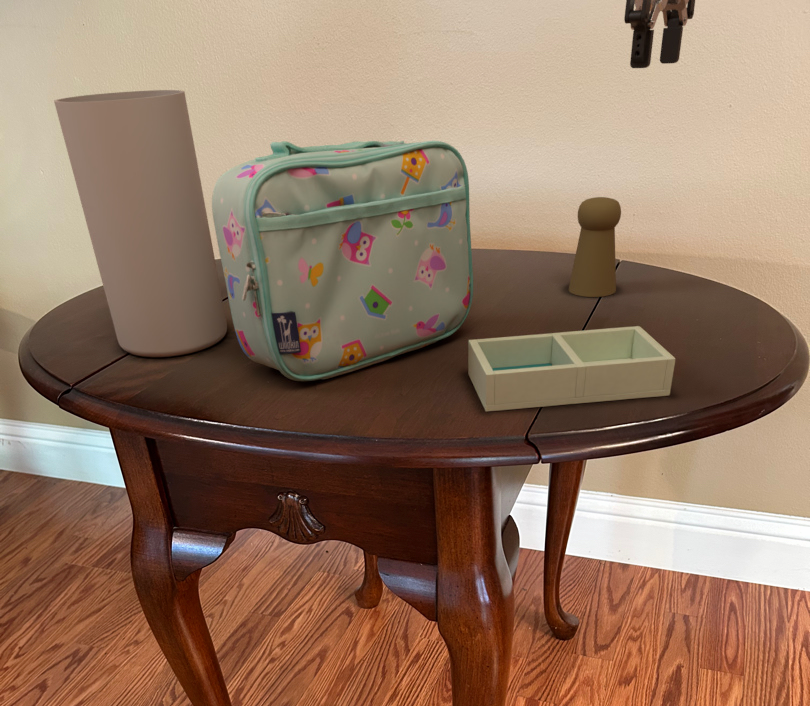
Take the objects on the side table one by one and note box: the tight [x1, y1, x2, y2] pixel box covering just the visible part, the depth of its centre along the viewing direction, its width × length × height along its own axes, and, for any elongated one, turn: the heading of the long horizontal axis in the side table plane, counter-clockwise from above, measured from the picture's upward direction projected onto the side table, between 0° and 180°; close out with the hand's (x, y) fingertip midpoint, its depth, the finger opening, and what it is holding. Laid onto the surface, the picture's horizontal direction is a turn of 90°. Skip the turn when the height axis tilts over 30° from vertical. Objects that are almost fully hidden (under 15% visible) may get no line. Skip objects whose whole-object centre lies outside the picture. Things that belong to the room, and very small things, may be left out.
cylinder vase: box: [53, 89, 228, 358], centre depth 83 cm, size 12×12×25 cm
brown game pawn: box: [568, 196, 622, 298], centre depth 95 cm, size 6×6×11 cm
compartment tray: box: [467, 325, 676, 412], centre depth 73 cm, size 17×9×4 cm, turn 96°
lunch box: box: [211, 140, 474, 382], centre depth 77 cm, size 27×10×21 cm, turn 126°
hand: (654, 65), depth 92 cm, fingers open, 8 cm apart
